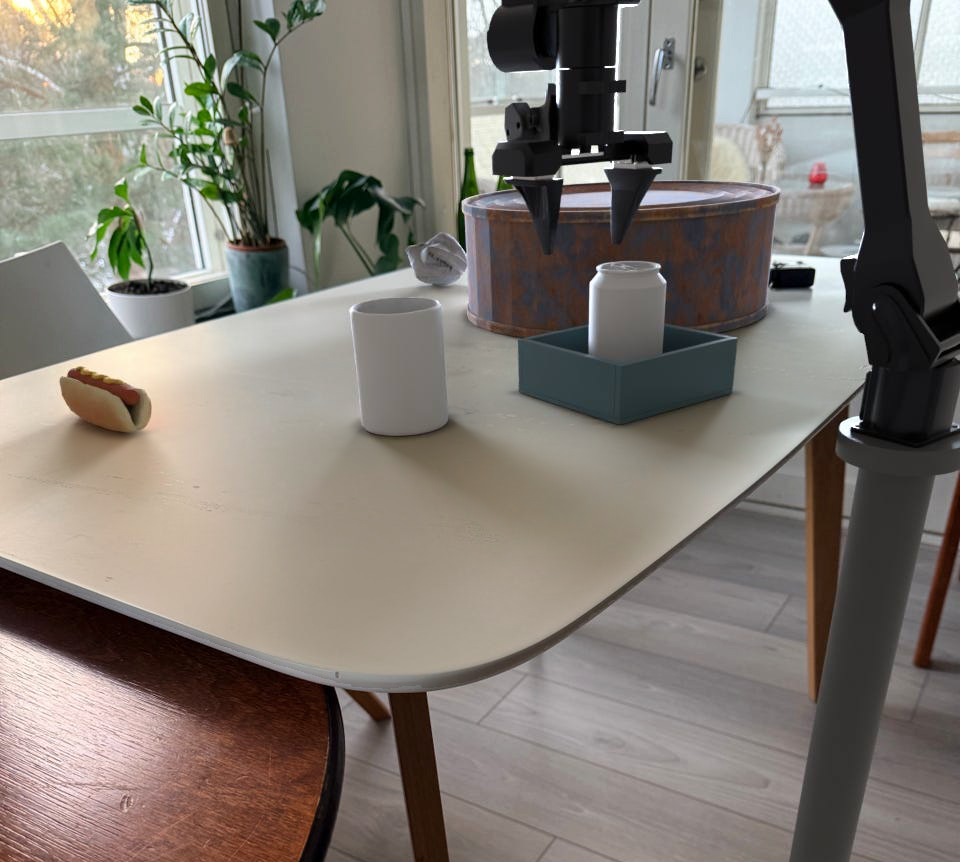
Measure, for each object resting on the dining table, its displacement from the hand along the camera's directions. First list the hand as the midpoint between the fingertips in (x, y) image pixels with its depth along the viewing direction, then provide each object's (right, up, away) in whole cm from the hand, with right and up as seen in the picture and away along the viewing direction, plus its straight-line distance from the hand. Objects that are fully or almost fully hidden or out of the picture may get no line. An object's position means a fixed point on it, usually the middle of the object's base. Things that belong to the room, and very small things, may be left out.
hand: (582, 249), depth 93 cm
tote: (+4, -14, +2) cm, 15 cm away
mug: (-17, -18, -2) cm, 25 cm away
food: (-48, -18, +1) cm, 52 cm away
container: (+9, +8, +40) cm, 41 cm away
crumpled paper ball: (-18, +21, +64) cm, 70 cm away
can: (+4, -14, +2) cm, 15 cm away
